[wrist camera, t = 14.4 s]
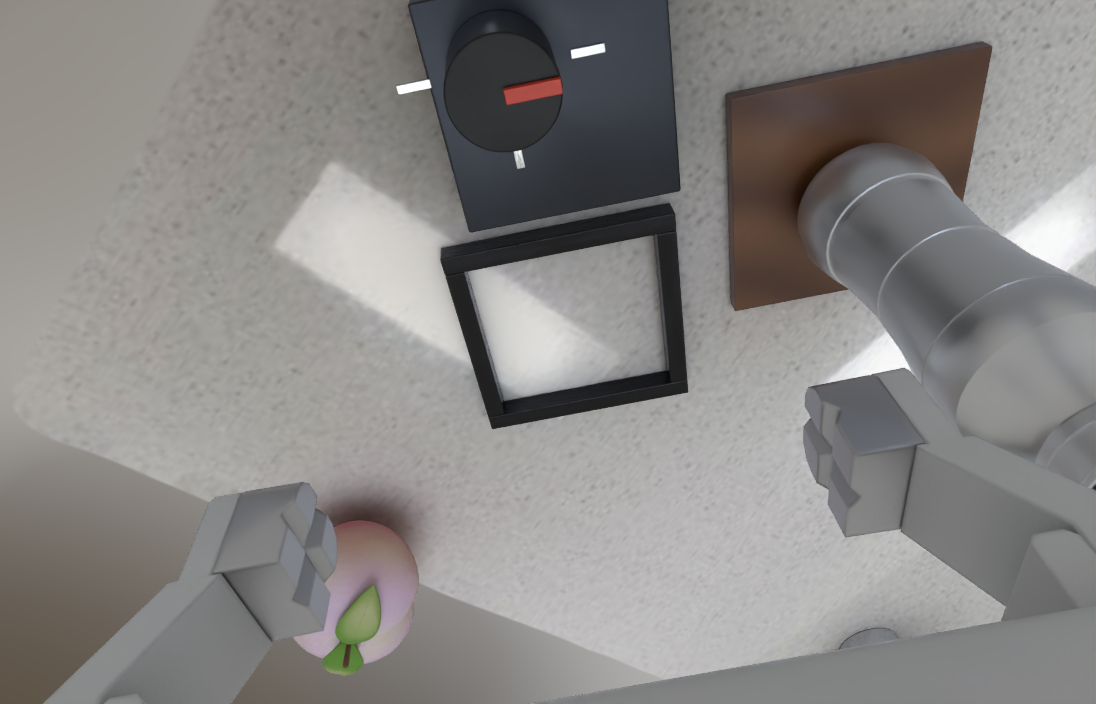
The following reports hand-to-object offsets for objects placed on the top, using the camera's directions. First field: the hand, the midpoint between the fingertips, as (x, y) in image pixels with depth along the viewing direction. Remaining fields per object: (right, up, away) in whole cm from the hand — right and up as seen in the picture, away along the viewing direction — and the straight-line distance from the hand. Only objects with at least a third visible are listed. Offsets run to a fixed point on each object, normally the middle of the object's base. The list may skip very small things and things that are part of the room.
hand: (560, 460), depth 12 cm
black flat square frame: (+1, +4, +29) cm, 29 cm away
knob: (-2, +13, +18) cm, 22 cm away
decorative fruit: (-13, -10, +38) cm, 42 cm away
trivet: (+15, +10, +25) cm, 31 cm away
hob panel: (0, +14, +21) cm, 25 cm away
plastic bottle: (+15, +10, +25) cm, 31 cm away
